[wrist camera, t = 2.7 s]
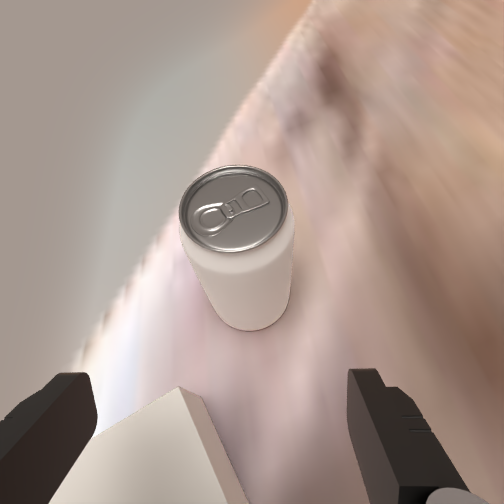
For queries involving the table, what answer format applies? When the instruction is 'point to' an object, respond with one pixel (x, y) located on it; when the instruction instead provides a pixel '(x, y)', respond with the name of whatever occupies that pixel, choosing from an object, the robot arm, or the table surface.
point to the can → (240, 243)
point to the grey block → (155, 459)
